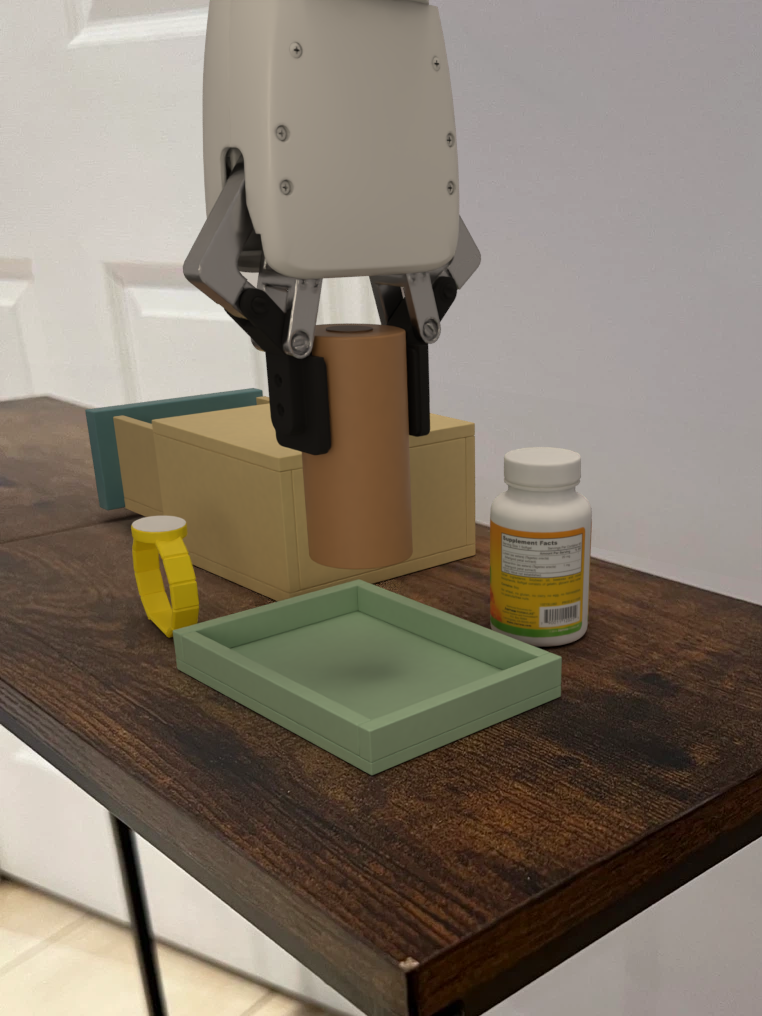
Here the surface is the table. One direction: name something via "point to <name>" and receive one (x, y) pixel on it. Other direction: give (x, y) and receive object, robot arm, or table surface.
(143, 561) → the watch
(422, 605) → the tray
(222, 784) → the table surface
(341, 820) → the table surface
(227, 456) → the cabinet
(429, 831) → the table surface
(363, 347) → the paper roll
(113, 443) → the drawer
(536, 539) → the supplement bottle
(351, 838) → the table surface
